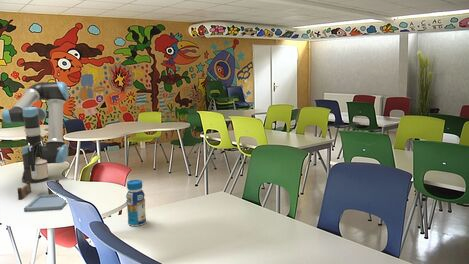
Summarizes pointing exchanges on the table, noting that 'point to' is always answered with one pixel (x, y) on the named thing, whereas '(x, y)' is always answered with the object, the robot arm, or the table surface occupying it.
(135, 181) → the beverage bottle
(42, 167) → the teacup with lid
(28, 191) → the walnut rack
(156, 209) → the table surface
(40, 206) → the tray
